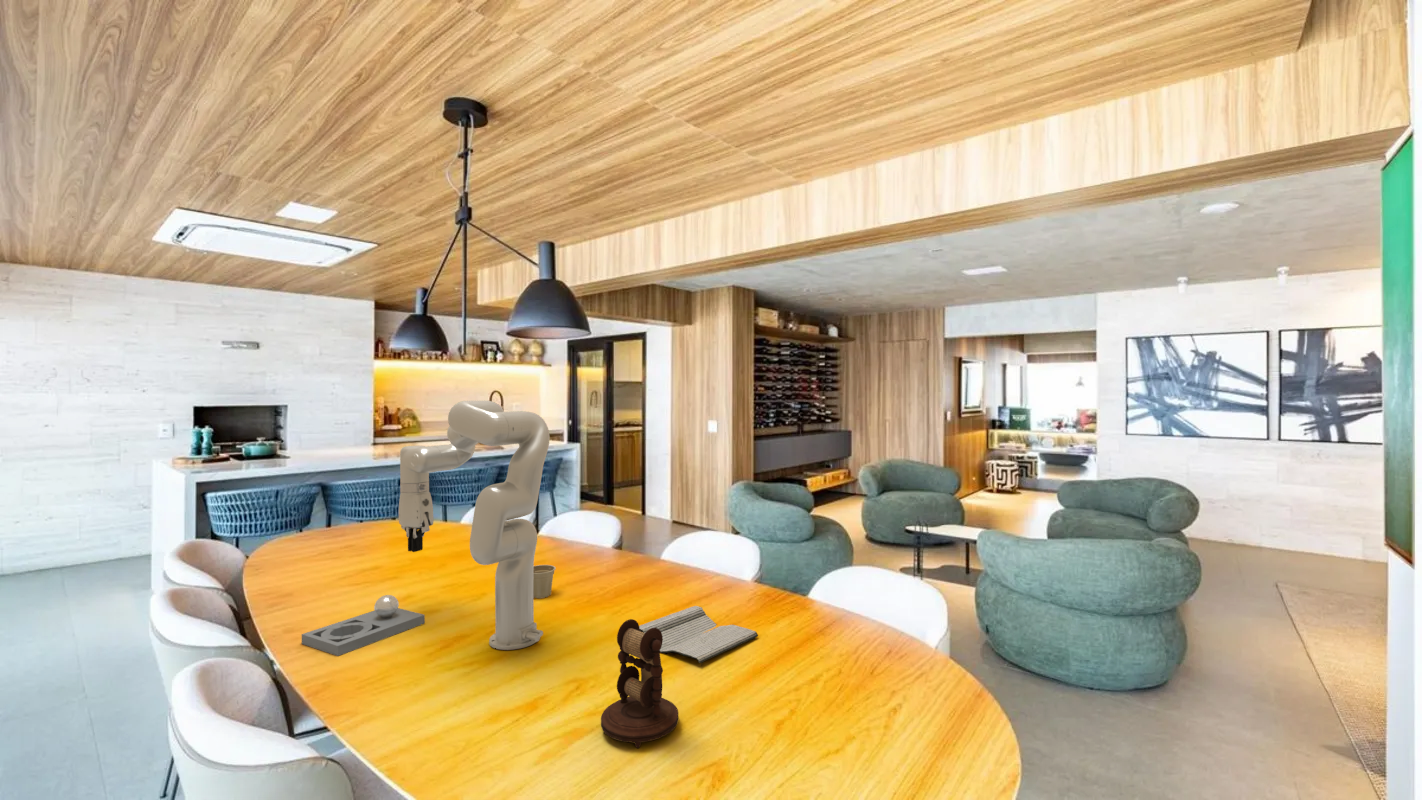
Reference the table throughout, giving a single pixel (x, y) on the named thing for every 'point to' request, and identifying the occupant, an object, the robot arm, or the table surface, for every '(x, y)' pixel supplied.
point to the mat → (697, 634)
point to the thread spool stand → (639, 690)
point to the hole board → (360, 631)
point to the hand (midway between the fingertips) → (415, 550)
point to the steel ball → (386, 606)
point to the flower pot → (542, 580)
